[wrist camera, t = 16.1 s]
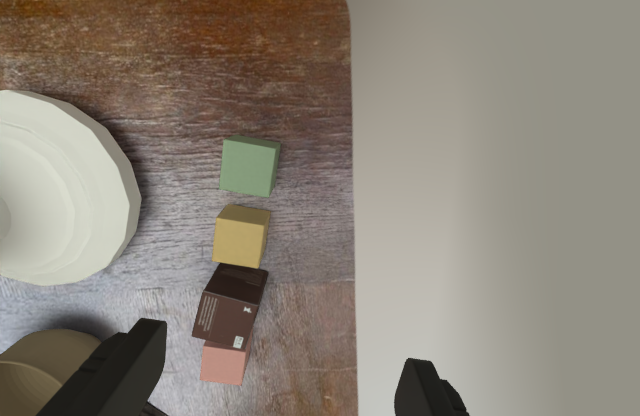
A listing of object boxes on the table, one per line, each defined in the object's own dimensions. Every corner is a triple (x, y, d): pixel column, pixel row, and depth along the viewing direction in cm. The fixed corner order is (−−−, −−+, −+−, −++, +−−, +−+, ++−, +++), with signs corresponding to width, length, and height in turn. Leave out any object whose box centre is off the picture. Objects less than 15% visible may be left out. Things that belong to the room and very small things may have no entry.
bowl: (18, 313, 43) (-68, 373, 33) (114, 300, 42) (55, 357, 33) (55, 390, 46) (-12, 464, 37) (144, 379, 46) (99, 451, 36)
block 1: (281, 142, 37) (275, 148, 32) (274, 186, 38) (268, 198, 33) (235, 134, 36) (223, 139, 32) (230, 178, 38) (218, 189, 33)
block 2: (270, 210, 39) (264, 225, 34) (265, 249, 40) (258, 268, 36) (228, 203, 39) (215, 217, 34) (223, 242, 40) (211, 261, 35)
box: (222, 257, 41) (202, 289, 34) (269, 271, 41) (260, 305, 34) (210, 298, 42) (189, 337, 35) (256, 311, 43) (244, 351, 36)
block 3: (253, 325, 44) (246, 352, 39) (249, 356, 45) (241, 385, 40) (215, 319, 43) (203, 346, 38) (212, 350, 45) (199, 380, 40)
